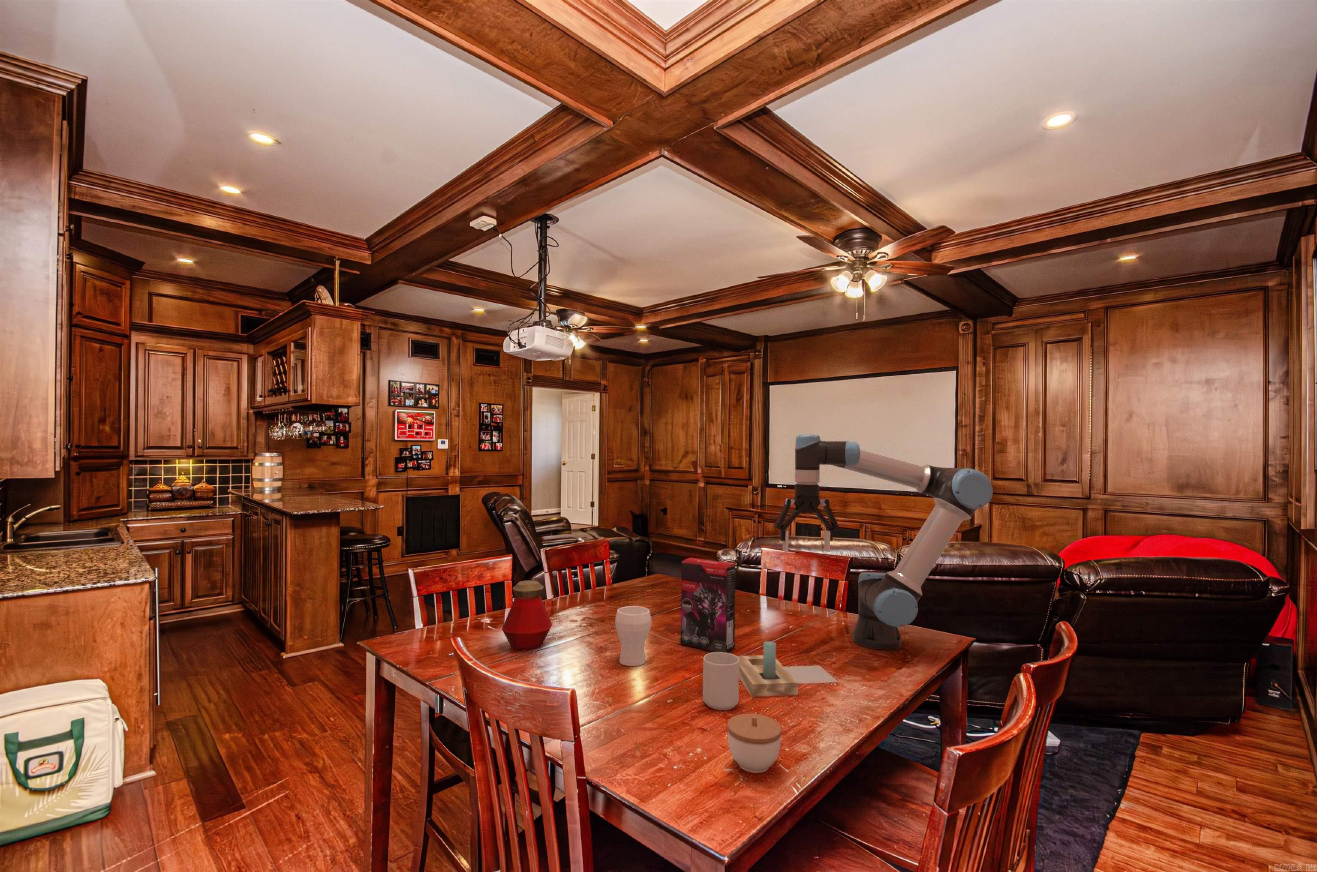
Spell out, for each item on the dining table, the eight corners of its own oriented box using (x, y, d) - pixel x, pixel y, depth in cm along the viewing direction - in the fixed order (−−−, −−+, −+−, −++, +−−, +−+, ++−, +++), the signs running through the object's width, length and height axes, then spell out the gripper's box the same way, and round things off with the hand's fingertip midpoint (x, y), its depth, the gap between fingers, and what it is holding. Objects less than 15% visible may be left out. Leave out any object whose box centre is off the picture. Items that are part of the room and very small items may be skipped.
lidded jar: (720, 772, 112) (721, 723, 112) (733, 746, 122) (734, 701, 122) (776, 784, 108) (777, 734, 108) (784, 756, 118) (785, 710, 118)
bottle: (549, 636, 190) (550, 576, 191) (554, 650, 177) (556, 585, 178) (500, 641, 185) (501, 578, 186) (502, 655, 173) (504, 588, 173)
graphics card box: (678, 644, 185) (679, 559, 185) (689, 639, 191) (690, 556, 191) (726, 656, 175) (727, 566, 176) (736, 649, 181) (737, 563, 182)
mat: (819, 666, 168) (819, 665, 168) (837, 683, 156) (837, 681, 156) (780, 668, 166) (780, 666, 166) (795, 684, 154) (795, 683, 154)
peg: (773, 686, 153) (773, 641, 153) (777, 691, 150) (777, 645, 150) (761, 686, 153) (762, 641, 153) (765, 691, 150) (765, 645, 150)
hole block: (772, 667, 167) (772, 654, 167) (798, 696, 147) (798, 682, 147) (732, 668, 165) (732, 656, 165) (752, 698, 146) (752, 684, 146)
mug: (732, 714, 136) (733, 667, 137) (697, 707, 140) (698, 661, 140) (746, 695, 147) (746, 651, 148) (713, 688, 151) (713, 646, 151)
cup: (657, 661, 170) (658, 610, 170) (632, 671, 162) (633, 617, 162) (632, 652, 177) (633, 603, 177) (607, 661, 169) (608, 610, 170)
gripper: (839, 483, 185) (838, 549, 185) (764, 482, 182) (764, 549, 182) (850, 484, 178) (849, 553, 177) (772, 483, 175) (771, 553, 174)
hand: (806, 551), depth 180 cm, fingers open, 13 cm apart
